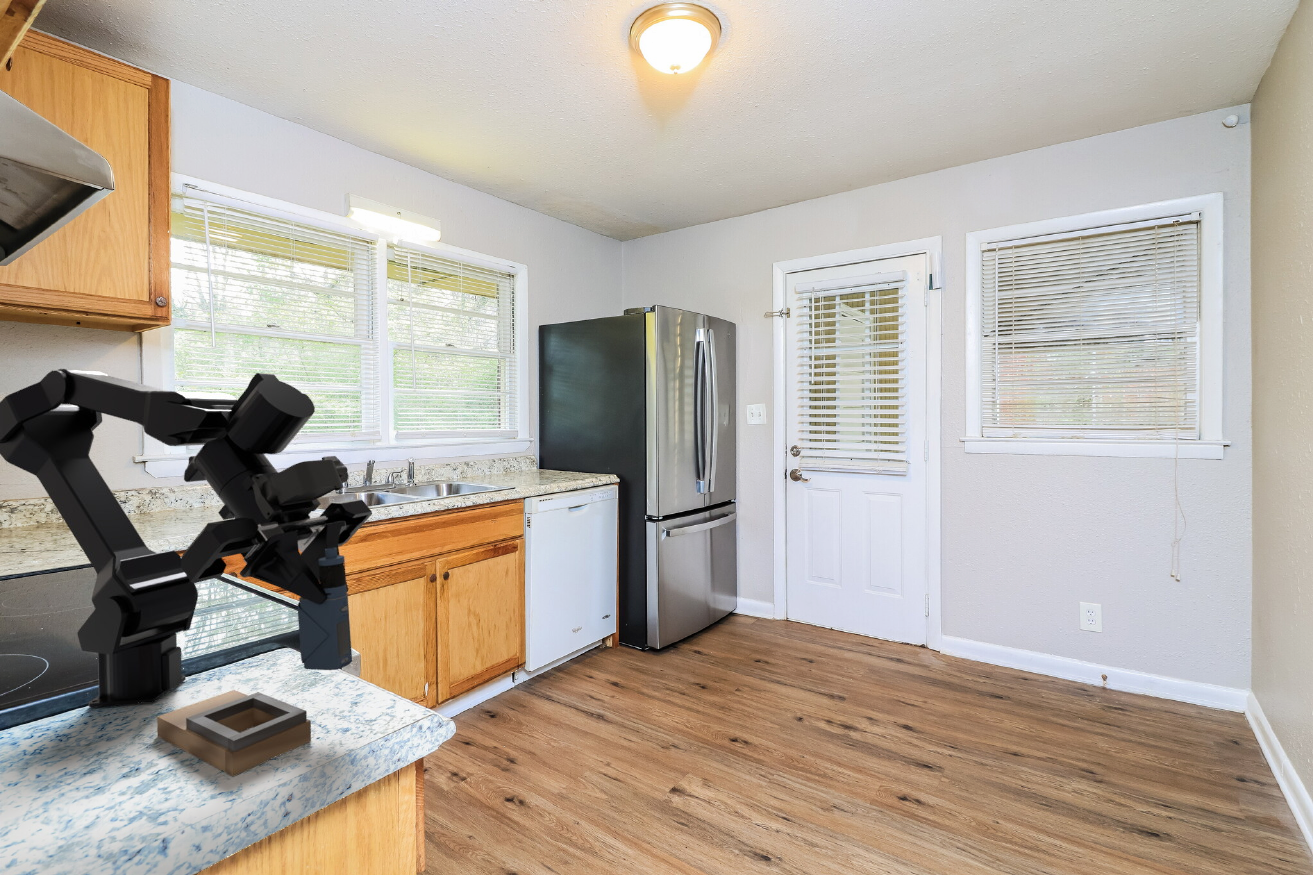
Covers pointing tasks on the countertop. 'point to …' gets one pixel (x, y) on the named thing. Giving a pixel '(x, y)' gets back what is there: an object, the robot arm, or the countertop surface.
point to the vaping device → (326, 619)
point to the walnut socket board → (236, 730)
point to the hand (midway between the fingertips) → (334, 597)
